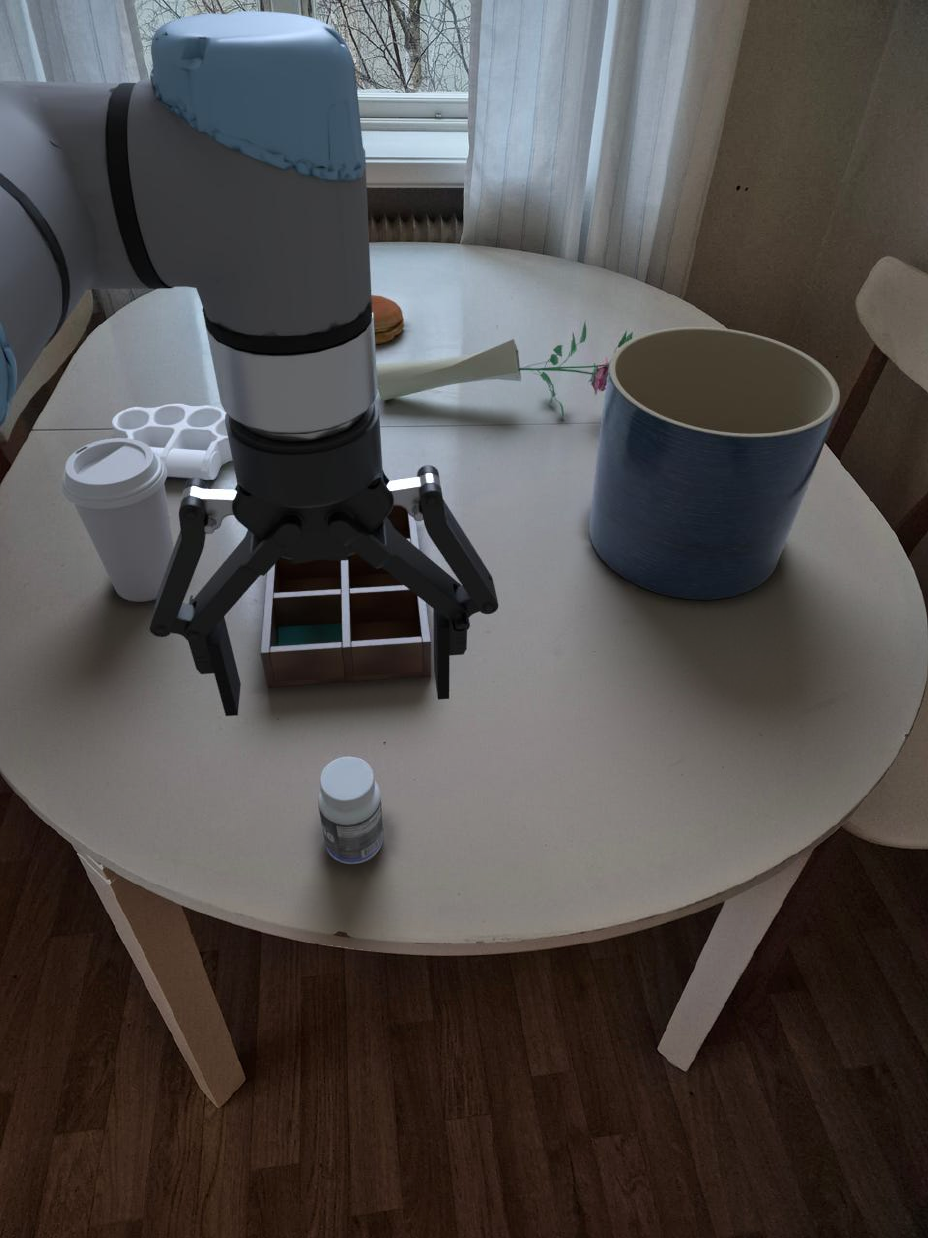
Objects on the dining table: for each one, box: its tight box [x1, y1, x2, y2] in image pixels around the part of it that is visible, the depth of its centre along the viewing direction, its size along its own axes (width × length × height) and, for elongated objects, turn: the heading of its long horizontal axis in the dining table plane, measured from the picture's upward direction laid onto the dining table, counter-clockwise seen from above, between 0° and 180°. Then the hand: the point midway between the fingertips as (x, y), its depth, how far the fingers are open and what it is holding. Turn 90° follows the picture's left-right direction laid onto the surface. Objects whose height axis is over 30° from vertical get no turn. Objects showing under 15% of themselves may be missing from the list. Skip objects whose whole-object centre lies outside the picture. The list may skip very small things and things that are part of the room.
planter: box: [588, 326, 841, 601], centre depth 91 cm, size 22×22×20 cm
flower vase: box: [376, 321, 634, 421], centre depth 116 cm, size 12×12×35 cm
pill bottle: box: [317, 756, 384, 865], centre depth 66 cm, size 5×5×8 cm
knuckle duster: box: [111, 403, 233, 481], centre depth 108 cm, size 3×18×15 cm
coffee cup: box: [61, 437, 175, 603], centre depth 86 cm, size 10×10×15 cm
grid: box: [259, 505, 432, 688], centre depth 88 cm, size 15×23×5 cm
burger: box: [371, 294, 405, 345], centre depth 133 cm, size 10×9×5 cm
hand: (338, 692), depth 57 cm, fingers open, 13 cm apart
